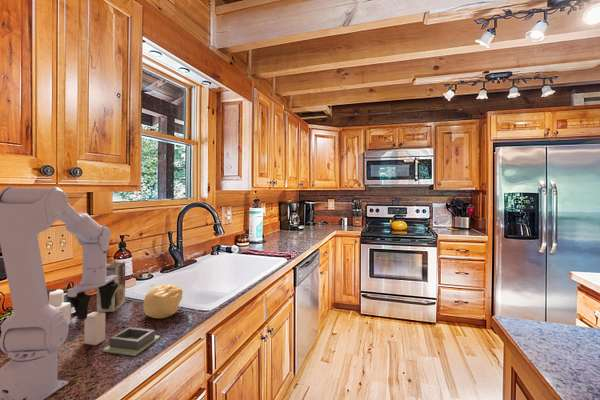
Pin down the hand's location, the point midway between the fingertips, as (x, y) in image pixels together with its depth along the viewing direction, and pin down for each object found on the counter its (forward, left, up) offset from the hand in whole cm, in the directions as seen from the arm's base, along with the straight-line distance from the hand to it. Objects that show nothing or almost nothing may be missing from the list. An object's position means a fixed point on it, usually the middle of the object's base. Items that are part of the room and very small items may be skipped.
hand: (94, 313), depth 84 cm
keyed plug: (0, 0, -8) cm, 8 cm away
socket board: (+1, -12, -8) cm, 15 cm away
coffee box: (+23, +16, -8) cm, 29 cm away
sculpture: (+21, -7, -8) cm, 24 cm away
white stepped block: (+4, +20, -8) cm, 22 cm away
